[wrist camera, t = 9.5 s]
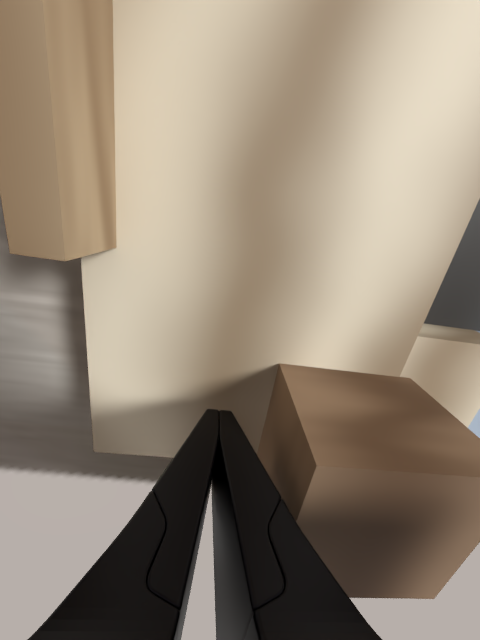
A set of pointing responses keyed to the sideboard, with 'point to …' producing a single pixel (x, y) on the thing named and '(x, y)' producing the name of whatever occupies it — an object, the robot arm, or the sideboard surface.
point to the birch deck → (249, 196)
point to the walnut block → (374, 478)
